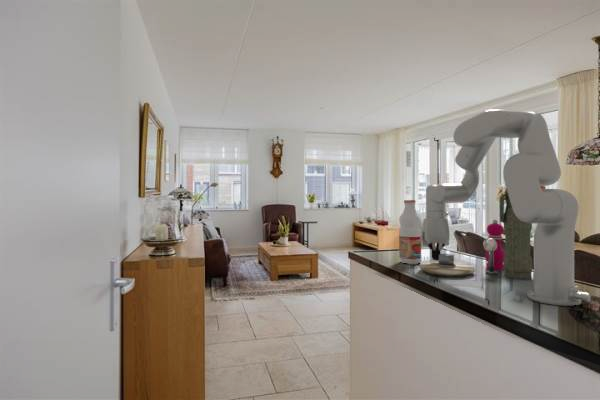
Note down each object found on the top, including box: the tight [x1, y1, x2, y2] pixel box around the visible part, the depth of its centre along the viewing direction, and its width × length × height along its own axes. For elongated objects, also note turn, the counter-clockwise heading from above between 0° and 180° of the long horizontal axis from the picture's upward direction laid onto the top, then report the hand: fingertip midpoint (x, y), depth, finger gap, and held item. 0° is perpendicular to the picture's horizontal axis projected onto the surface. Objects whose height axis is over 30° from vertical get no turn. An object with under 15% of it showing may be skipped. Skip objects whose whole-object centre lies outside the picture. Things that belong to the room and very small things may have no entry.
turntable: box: [418, 261, 476, 275], centre depth 143 cm, size 20×20×4 cm
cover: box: [437, 253, 456, 268], centre depth 143 cm, size 7×7×4 cm
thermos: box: [499, 187, 534, 281], centre depth 133 cm, size 9×12×35 cm
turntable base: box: [424, 271, 470, 278], centre depth 143 cm, size 16×16×1 cm
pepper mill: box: [484, 219, 505, 271], centre depth 150 cm, size 7×7×20 cm
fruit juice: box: [398, 199, 422, 265], centre depth 164 cm, size 9×9×28 cm
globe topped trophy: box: [482, 238, 498, 275], centre depth 140 cm, size 5×4×14 cm
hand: (435, 259), depth 151 cm, fingers closed
